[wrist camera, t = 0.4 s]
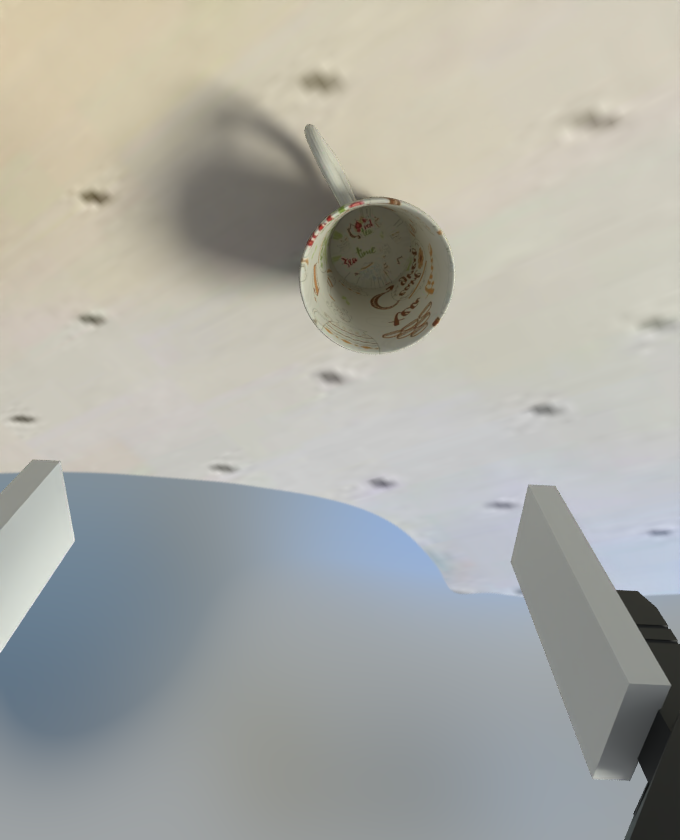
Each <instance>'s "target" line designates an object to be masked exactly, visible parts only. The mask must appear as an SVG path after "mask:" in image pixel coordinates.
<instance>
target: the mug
mask: <svg viewBox="0 0 680 840" xmlns="http://www.w3.org/2000/svg"><path fill="white" fill-rule="evenodd" d="M304 131H305V136H306V139H307V142H308V144H309V147H310V149H311V151H312V153H313V155H314V157H315V159H316V162H317V164H318V166H319V168H320V170H321V172H322V173H323V175H324V177H325V179H326V181H327V183H328V185H329V187H330V188H331V190H332V192H333V194H334V196H335V198H336V199H337V201H338V203H339V205H340V208H338V209H337V210H335V211H334V212H332V213H331V214H330V215H328V216H327V217H326V218H325V219H324V220H323V221H322V222H321V223H320V224H319V225H318V227H317V228H316V229H315V230H314V232H313V233H312V235H311V237H310V238H309V240H308V242H307V244H306V247H305V249H304V252H303V255H302V259H301V263H300V270H299V286H300V293H301V297H302V300H303V303H304V306H305V309H306V311H307V313H308V315H309V317H310V318H311V320H312V321H313V323H314V324H315V325H316V327H317V328H318V329H319V330H320V331H321V332H322V333H323V334H324V335H325V336H326V337H327V338H329V339H330V340H331V341H333V342H334V343H336V344H338V345H339V346H341V347H343V348H346V349H348V350H351V351H354V352H358V353H363V354H387V353H392V352H397V351H400V350H403V349H405V348H407V347H410V346H412V345H413V344H415V343H417V342H418V341H420V340H421V339H423V338H424V337H425V336H426V335H428V334H429V333H430V332H431V331H432V330H433V329H434V328H435V327H436V325H437V324H438V323H439V322H440V320H441V319H442V317H443V316H444V314H445V312H446V310H447V308H448V306H449V303H450V301H451V298H452V294H453V290H454V284H455V265H454V259H453V254H452V251H451V248H450V245H449V243H448V241H447V238H446V237H445V235H444V233H443V232H442V230H441V229H440V228H439V226H438V225H437V224H436V223H435V222H434V220H433V219H432V218H430V217H429V216H428V215H427V214H426V213H425V212H423V211H422V210H420V209H419V208H417V207H415V206H413V205H411V204H409V203H407V202H404V201H401V200H397V199H393V198H387V197H370V198H364V199H359V200H356V198H355V196H354V193H353V191H352V188H351V186H350V184H349V182H348V180H347V177H346V175H345V173H344V171H343V168H342V166H341V164H340V162H339V160H338V158H337V157H336V155H335V154H334V153H333V151H332V150H331V148H330V147H329V146H328V144H327V143H326V142H325V140H324V139H323V137H322V136H321V134H320V133H319V131H318V130H317V129H316V128H315V127H314V126H313V125H311V124H308V125H307V126H306V127H305V130H304Z"/></svg>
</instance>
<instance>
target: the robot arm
mask: <svg viewBox="0 0 680 840" xmlns="http://www.w3.org/2000/svg"><path fill="white" fill-rule="evenodd" d="M74 541H75V539H74V533H73V528H72V522H71V517H70V511H69V506H68V500H67V495H66V489H65V484H64V479H63V473H62V467H61V462H60V461H50V460H32V461H31V462H30V463H29V464H28V465H27V466H26V467H25V468H24V469H23V470H22V471H21V472H20V473H19V475H18V476H17V477H16V478H15V479H14V480H13V481H12V482H11V483H10V484H9V485H8V486H7V487H6V488H5V489H4V490H3V491H2V492H1V493H0V653H1V651H2V650H3V648H4V647H5V645H6V644H7V642H8V641H9V639H10V638H11V636H12V634H13V633H14V632H15V630H16V628H17V627H18V625H19V624H20V622H21V621H22V619H23V618H24V616H25V614H26V613H27V612H28V610H29V609H30V607H31V606H32V604H33V603H34V601H35V600H36V598H37V597H38V595H39V594H40V592H41V591H42V589H43V588H44V586H45V585H46V583H47V582H48V580H49V579H50V577H51V576H52V574H53V573H54V571H55V570H56V568H57V567H58V565H59V564H60V562H61V561H62V559H63V558H64V556H65V554H66V553H67V552H68V550H69V549H70V547H71V546H72V544H73V543H74ZM511 564H512V566H513V569H514V572H515V574H516V577H517V580H518V582H519V585H520V588H521V590H522V593H523V596H524V598H525V601H526V604H527V606H528V609H529V612H530V614H531V617H532V620H533V622H534V625H535V628H536V630H537V633H538V636H539V638H540V641H541V644H542V646H543V649H544V651H545V654H546V657H547V659H548V662H549V664H550V667H551V670H552V673H553V675H554V678H555V681H556V683H557V686H558V689H559V691H560V694H561V697H562V699H563V702H564V704H565V707H566V710H567V713H568V715H569V718H570V721H571V723H572V726H573V729H574V731H575V734H576V736H577V739H578V741H579V744H580V747H581V750H582V752H583V755H584V758H585V760H586V763H587V766H588V768H589V771H590V774H591V776H592V779H606V780H629V781H630V780H631V778H632V775H633V773H634V771H635V768H636V766H637V764H638V761H639V763H640V765H641V768H642V770H643V772H644V774H645V776H646V778H647V781H648V783H647V785H646V787H645V790H644V792H643V794H642V796H641V798H640V800H639V803H638V805H637V807H636V809H635V811H634V817H633V819H632V822H631V824H630V826H629V829H628V832H627V834H626V836H625V839H624V840H680V644H678V643H677V639H676V637H675V636H674V634H673V633H672V631H671V629H668V625H667V623H666V622H665V620H664V619H663V617H662V616H661V614H660V612H659V611H658V609H657V608H656V607H655V606H654V605H653V604H651V602H649V601H648V600H647V599H646V598H645V597H644V596H642V595H641V594H640V593H639V592H638V591H624V590H616V589H615V588H614V586H613V584H612V582H611V581H610V579H609V577H608V576H607V574H606V572H605V570H604V569H603V567H602V565H601V564H600V562H599V560H598V558H597V557H596V555H595V553H594V552H593V550H592V548H591V546H590V545H589V543H588V541H587V539H586V538H585V536H584V534H583V533H582V531H581V529H580V527H579V526H578V524H577V522H576V521H575V519H574V517H573V515H572V514H571V512H570V510H569V509H568V507H567V505H566V503H565V502H564V500H563V498H562V497H561V495H560V493H559V491H558V490H557V488H556V486H545V485H528V488H527V493H526V497H525V502H524V506H523V510H522V515H521V519H520V524H519V528H518V532H517V537H516V541H515V545H514V550H513V554H512V559H511Z"/></svg>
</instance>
